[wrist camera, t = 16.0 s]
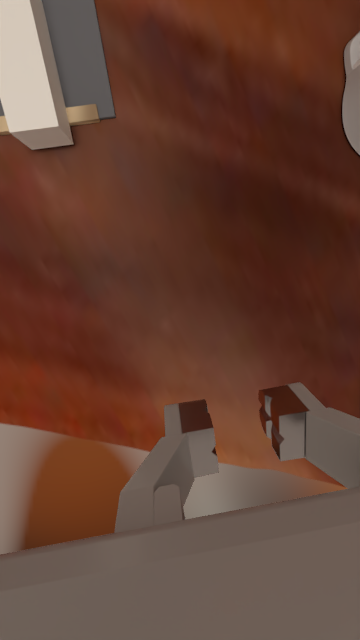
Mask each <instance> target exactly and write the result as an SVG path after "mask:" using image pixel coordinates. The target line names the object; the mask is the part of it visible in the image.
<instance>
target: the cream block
mask: <svg viewBox="0 0 360 640" xmlns="http://www.w3.org/2000/svg"><path fill="white" fill-rule="evenodd" d="M0 100H1V103H2V107H3V110H4V114H5V118H6V121H7V125H8V129H9V132H10V133H11V134H12V135H13V136H15V137H16V138H17V139H19V140H20V141H21V142H22V143H24V144H25V145H26V146H28V147H29V148H30V149H31V150H35V149H43V148H50V147H58V146H65V145H72V144H74V143H73V139H72V134H71V130H70V125H69V121H68V116H67V112H66V107H65V103H64V98H63V94H62V89H61V85H60V80H59V76H58V71H57V67H56V62H55V58H54V53H53V49H52V44H51V40H50V35H49V30H48V26H47V21H46V17H45V12H44V8H43V3H42V0H0Z"/></svg>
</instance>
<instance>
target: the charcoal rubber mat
mask: <svg viewBox="0 0 360 640" xmlns="http://www.w3.org/2000/svg"><path fill="white" fill-rule="evenodd" d="M42 3H43V8H44V12H45V17H46V21H47V26H48V30H49V35H50V40H51V44H52V49H53V53H54V58H55V62H56V67H57V71H58V76H59V80H60V85H61V89H62V94H63V98H64V103H65V107H66V108H68V107H75V106H83V105H90V104H96V105H97V110H98V115H99V119H100V120H103V119H110V118H116V116H115V111H114V106H113V100H112V95H111V89H110V84H109V79H108V73H107V68H106V62H105V57H104V51H103V46H102V41H101V35H100V30H99V24H98V19H97V13H96V8H95V3H94V0H42ZM0 116H5V114H4V110H3V107H2V103H1V100H0Z"/></svg>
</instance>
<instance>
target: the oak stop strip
mask: <svg viewBox="0 0 360 640" xmlns="http://www.w3.org/2000/svg"><path fill="white" fill-rule="evenodd" d="M66 112H67V116H68V121H69V125H70V126H76V125H83V124H90V123H98V122H100V119H99V115H98V110H97V105H96V104H90V105H83V106H75V107H68V108H66ZM9 134H11V133H10V132H9V129H8V125H7V121H6V118H5V116H0V135H9Z"/></svg>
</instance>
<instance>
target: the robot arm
mask: <svg viewBox="0 0 360 640" xmlns="http://www.w3.org/2000/svg"><path fill="white" fill-rule="evenodd" d="M344 64H345V71H346V85H345V90H344V96H343V103H342V118H343V125H344V130H345V133H346V136H347V138H348V140H349V142H350V144H351V146H352V147H353V148H354V150H355V151H356V152H357V153H358V154H359V155H360V31H359V32H358V33H357V34H356V35H355V36H354V37H353V38H352V39H351V40H350V41H349V42H348V44H347V45H346V47H345V51H344ZM258 395H259V401H260V403H261V404H262V407H261V408H260V410H259V413H260V420H261V424H262V427H263V430H264V432H265V434H266V436H267V437H269V438H270V439H272V447H273V449H274V451H275V452H276V454H277V456H278V458H279V460H280V461H285V460H291V459H298V458H304V457H306V458H305V459H307V460H308V461H310V462H311V463H312V464H314V465H315V466H317V467H318V468H320V469H321V470H322V471H324V472H325V473H327V474H328V475H330V476H331V477H332V478H334V479H335V480H337V481H338V482H340V483H341V484H342V485H344V486H345V487H347V488H348V489H345V490H340V491H335V492H329V493H324V494H319V495H313V496H308V497H303V498H297V499H293V500H288V501H282V502H276V503H271V504H266V505H260V506H256V507H251V508H245V509H239V510H234V511H229V512H224V513H219V514H213V515H208V516H202V517H197V518H192V519H187V520H185V516H184V510H183V506H184V504H185V501H186V499H187V496H188V494H189V492H190V489H191V487H192V484H193V482H194V478H195V477H200V476H205V475H209V474H214V473H218V472H219V470H218V460H217V454H216V450H215V445H216V444H215V436H214V429H213V425H212V421H211V418H210V414H209V413H208V410H207V404H206V401H205V399H203V400H197V401H190V402H183V403H179V405H178V403H177V404H171V405H165V407H164V415H165V437H162V438H161V439H160V440H159V441H158V443H157V444H156V445H155V447H154V448H153V449H152V451H151V452H150V453H149V455H148V456H147V458H146V459H145V460H144V462H143V463H142V464H141V465H140V467H139V468H138V469H137V471H136V472H135V473H134V475H133V476H132V478H131V479H130V480H129V481H128V483H127V484H126V486H125V487H124V488H123V490H122V491H121V492H120V499H119V506H118V513H117V519H116V527H115V533H113V534H107V535H102V536H97V537H91V538H86V539H81V540H76V541H70V542H65V543H60V544H55V545H49V546H44V547H38V548H33V549H28V550H23V551H17V552H12V553H7V554H1V555H0V640H360V419H359V418H356V417H353V416H351V415H348V414H346V413H343V412H340V411H338V410H335V409H332V408H325V407H324V406H323V405H322V404H321V403H320V402H319V401H318V400H317V399H316V398H315V397H314V396H313V395H312V394H311V393H310V392H309V391H308V390H307V389H306V387H305V386H304V385H303V384H302V383H299V382H297V383H292V384H288V385H285V386H279V387H274V388H268V389H263V390H259V394H258Z"/></svg>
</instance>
